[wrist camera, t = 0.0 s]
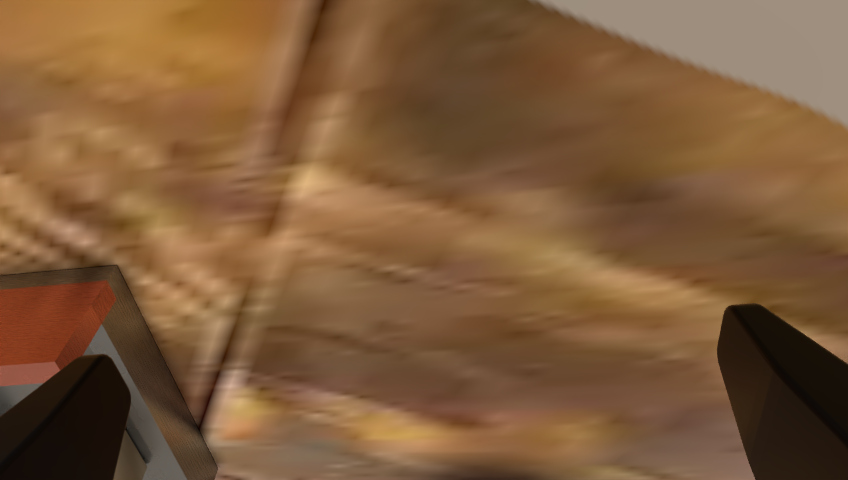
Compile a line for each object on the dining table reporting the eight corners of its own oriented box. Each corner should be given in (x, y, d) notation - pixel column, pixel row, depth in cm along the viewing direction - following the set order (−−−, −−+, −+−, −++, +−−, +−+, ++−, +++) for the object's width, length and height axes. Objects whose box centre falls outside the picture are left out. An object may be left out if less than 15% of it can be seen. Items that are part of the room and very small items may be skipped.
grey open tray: (217, 469, 36) (186, 569, 31) (43, 479, 36) (-13, 579, 32) (116, 265, 28) (54, 361, 23) (-105, 285, 28) (-207, 381, 24)
